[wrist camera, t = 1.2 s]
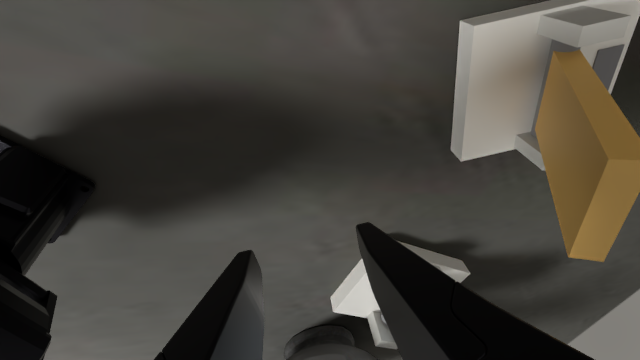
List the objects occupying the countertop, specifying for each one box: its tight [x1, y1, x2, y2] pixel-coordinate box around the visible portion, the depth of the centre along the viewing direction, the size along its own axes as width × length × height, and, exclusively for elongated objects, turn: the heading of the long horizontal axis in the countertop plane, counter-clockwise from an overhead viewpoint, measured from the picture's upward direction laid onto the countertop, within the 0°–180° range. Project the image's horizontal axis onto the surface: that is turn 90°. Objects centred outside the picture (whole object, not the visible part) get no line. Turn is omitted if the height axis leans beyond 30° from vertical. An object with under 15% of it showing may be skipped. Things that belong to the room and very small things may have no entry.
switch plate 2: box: [451, 0, 640, 171], centre depth 20 cm, size 10×9×5 cm
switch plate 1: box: [330, 241, 470, 349], centre depth 31 cm, size 10×9×5 cm
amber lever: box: [531, 39, 640, 262], centre depth 17 cm, size 1×6×12 cm, turn 9°
